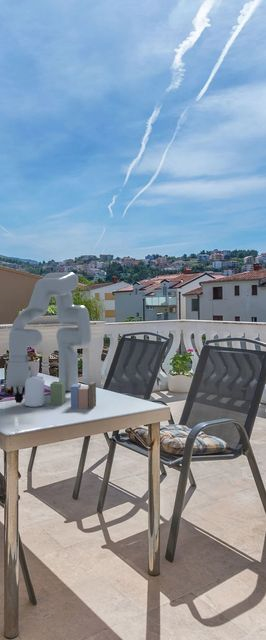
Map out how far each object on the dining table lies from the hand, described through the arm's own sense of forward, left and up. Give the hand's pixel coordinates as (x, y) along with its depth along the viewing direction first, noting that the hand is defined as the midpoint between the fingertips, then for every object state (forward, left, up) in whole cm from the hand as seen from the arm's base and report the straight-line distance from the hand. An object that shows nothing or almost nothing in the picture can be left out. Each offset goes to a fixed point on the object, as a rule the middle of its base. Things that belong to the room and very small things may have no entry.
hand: (19, 402), depth 216 cm
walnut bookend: (0, +32, -1) cm, 32 cm away
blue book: (0, +25, -1) cm, 25 cm away
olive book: (-5, +16, -2) cm, 17 cm away
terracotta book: (0, +28, -2) cm, 28 cm away
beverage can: (0, +7, -1) cm, 7 cm away
